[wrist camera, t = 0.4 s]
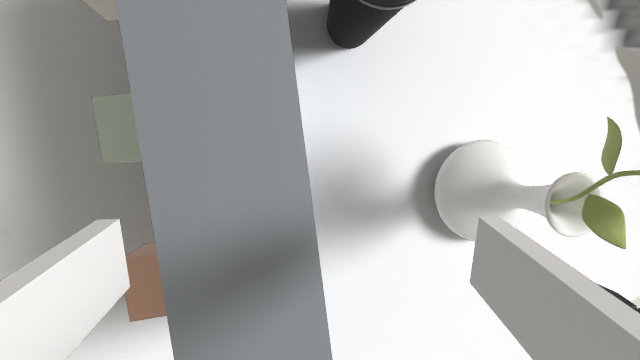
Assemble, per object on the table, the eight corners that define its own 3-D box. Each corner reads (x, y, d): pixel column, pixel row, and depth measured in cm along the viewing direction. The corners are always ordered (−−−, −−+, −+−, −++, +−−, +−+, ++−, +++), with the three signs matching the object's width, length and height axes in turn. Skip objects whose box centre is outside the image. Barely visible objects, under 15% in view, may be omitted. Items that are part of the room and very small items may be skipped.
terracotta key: (144, 243, 28) (119, 259, 23) (232, 231, 29) (223, 243, 24) (153, 296, 28) (130, 321, 24) (239, 282, 29) (232, 304, 24)
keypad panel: (187, -31, 35) (70, -277, 15) (266, -36, 36) (250, -276, 16) (235, 290, 38) (186, 436, 18) (307, 278, 39) (338, 404, 19)
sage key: (121, 107, 27) (91, 96, 23) (212, 97, 28) (200, 85, 23) (131, 162, 27) (102, 163, 23) (220, 151, 28) (209, 150, 24)
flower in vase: (503, 248, 41) (845, 381, 16) (416, 224, 40) (645, 331, 15) (535, 142, 41) (930, 116, 16) (448, 114, 39) (735, 37, 15)
